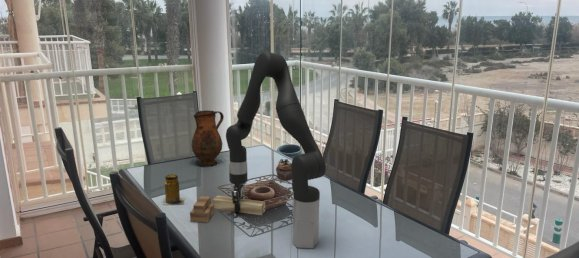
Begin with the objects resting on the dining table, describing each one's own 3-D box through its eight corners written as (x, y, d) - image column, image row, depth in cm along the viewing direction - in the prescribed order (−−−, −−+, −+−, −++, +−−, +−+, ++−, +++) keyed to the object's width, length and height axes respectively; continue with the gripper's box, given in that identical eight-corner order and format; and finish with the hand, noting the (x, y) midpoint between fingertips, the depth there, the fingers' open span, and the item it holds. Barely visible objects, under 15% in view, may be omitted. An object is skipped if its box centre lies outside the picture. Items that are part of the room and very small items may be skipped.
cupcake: (297, 180, 219) (297, 161, 217) (279, 182, 215) (279, 163, 213) (290, 174, 228) (290, 156, 225) (273, 176, 224) (273, 157, 222)
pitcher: (186, 164, 241) (183, 112, 234) (213, 156, 257) (212, 107, 251) (206, 170, 231) (204, 116, 224) (234, 161, 248) (233, 110, 241)
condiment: (166, 198, 193) (165, 173, 190) (185, 198, 194) (184, 172, 191) (163, 205, 186) (161, 178, 183) (183, 204, 187) (182, 178, 184)
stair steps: (207, 222, 170) (207, 206, 168) (190, 221, 170) (189, 205, 169) (214, 212, 179) (214, 196, 178) (198, 211, 180) (197, 195, 178)
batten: (261, 215, 177) (261, 205, 176) (212, 209, 183) (212, 199, 182) (265, 211, 181) (265, 201, 180) (217, 205, 187) (217, 195, 186)
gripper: (243, 177, 171) (244, 216, 175) (250, 165, 185) (250, 202, 189) (225, 176, 172) (226, 215, 176) (233, 165, 186) (234, 201, 189)
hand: (238, 208), depth 182 cm, fingers open, 5 cm apart
